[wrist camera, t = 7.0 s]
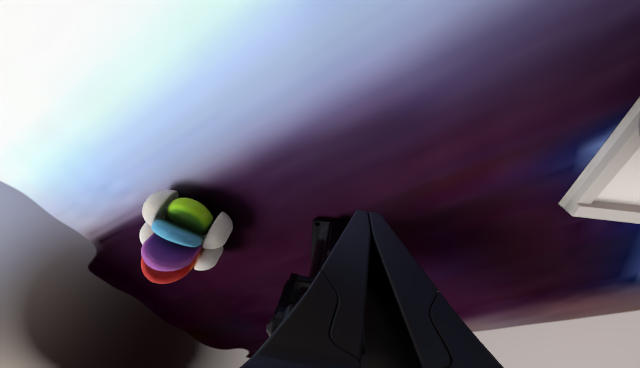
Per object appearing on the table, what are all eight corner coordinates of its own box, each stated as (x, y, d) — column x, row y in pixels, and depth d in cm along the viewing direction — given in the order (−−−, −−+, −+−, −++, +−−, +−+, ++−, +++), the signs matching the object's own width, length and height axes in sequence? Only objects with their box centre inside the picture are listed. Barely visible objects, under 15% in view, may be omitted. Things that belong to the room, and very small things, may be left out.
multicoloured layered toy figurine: (156, 228, 29) (104, 280, 23) (166, 170, 24) (103, 218, 18) (221, 256, 31) (188, 312, 25) (244, 207, 26) (209, 264, 20)
